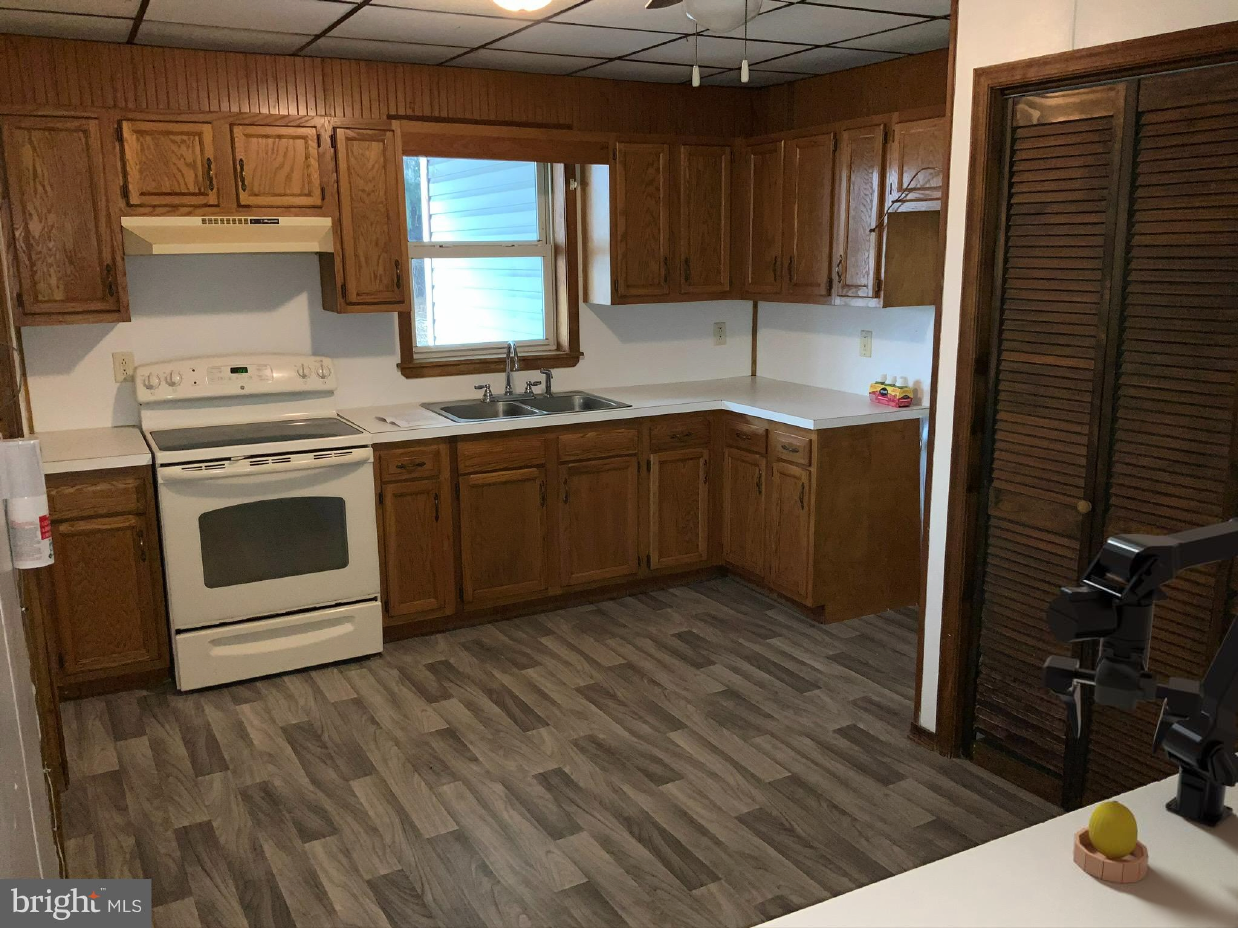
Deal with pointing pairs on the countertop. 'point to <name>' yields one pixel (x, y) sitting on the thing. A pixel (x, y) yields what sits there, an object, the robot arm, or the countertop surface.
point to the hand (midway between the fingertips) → (1114, 744)
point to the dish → (1109, 861)
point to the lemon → (1113, 830)
